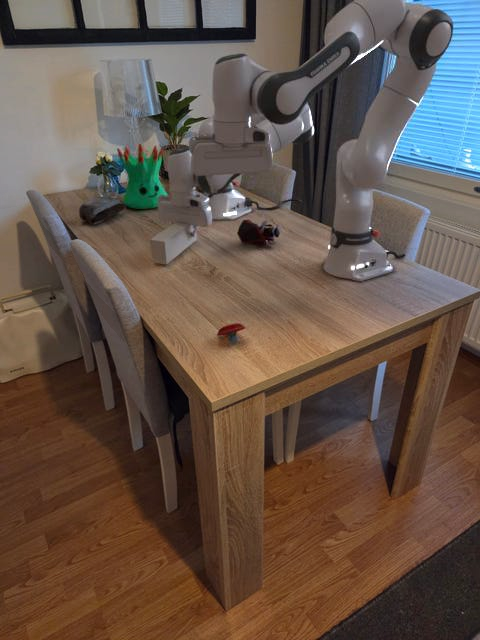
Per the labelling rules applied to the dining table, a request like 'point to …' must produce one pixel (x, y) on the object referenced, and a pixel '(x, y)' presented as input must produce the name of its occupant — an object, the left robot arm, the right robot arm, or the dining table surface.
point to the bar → (171, 242)
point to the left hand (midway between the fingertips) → (185, 235)
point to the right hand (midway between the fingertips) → (232, 191)
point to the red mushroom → (231, 331)
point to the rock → (100, 209)
